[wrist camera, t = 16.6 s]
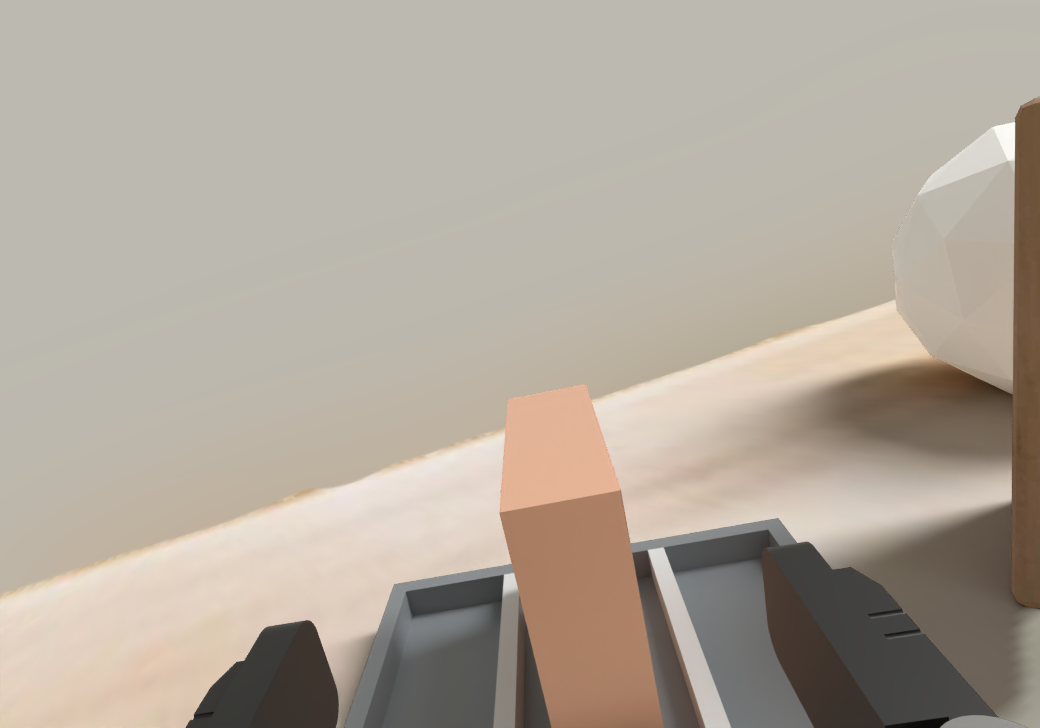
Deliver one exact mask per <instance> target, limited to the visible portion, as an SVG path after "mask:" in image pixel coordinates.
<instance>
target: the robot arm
mask: <svg viewBox="0 0 1040 728" xmlns="http://www.w3.org/2000/svg"><path fill="white" fill-rule="evenodd" d="M761 558H762V570H763V581H764V592H765V602H766V613H767V623H768V629H769V634H770V638H771V641H772V644H773V648H774V650H775V653H776V656H777V658H778V660H779V662H780V664H781V666H782V668H783V670H784V672H785V674H786V676H787V678H788V680H789V681H790V683H791V685H792V687H793V689H794V691H795V693H796V695H797V697H798V698H799V700H800V702H801V704H802V706H803V708H804V710H805V712H806V713H807V715H808V717H809V719H810V721H811V723H812V725H813V727H814V728H1027V727H1025V726H1023V725H1020V724H1017V723H1014V722H1012V721H1009V720H1005V719H1001V718H999V717H998V716H997V715H996V714H995V713H994V712H993V711H992V710H991V709H990V708H989V706H988V705H987V704H986V703H985V702H984V701H983V700H982V699H981V697H980V696H979V695H978V694H977V693H976V692H975V691H974V690H973V688H972V687H971V686H970V685H969V684H968V683H967V682H966V680H965V679H964V678H963V677H962V676H961V675H960V674H959V673H958V671H957V670H956V669H955V668H954V667H953V666H952V665H951V664H950V662H949V661H948V660H947V659H946V658H945V657H944V656H943V655H942V653H941V652H940V651H939V650H938V649H937V648H936V647H935V646H934V644H933V643H932V642H931V641H930V640H929V639H928V638H927V637H926V635H925V634H923V635H922V634H921V632H920V629H919V627H918V626H917V625H916V624H915V623H914V622H913V621H912V620H911V618H910V617H909V616H908V615H907V614H904V613H903V611H902V608H901V607H900V606H899V605H898V604H897V603H896V602H895V600H894V599H893V598H892V597H891V596H890V595H889V594H888V593H887V591H886V590H885V589H884V588H883V587H882V586H881V585H880V584H878V583H876V582H875V581H873V580H871V579H870V578H868V577H866V576H865V575H863V574H861V573H859V572H858V571H856V570H854V569H853V568H851V567H848V568H842V569H835V570H832V569H831V568H830V566H829V565H828V564H827V562H826V561H825V560H824V559H823V557H822V556H821V555H820V554H819V552H818V551H817V550H816V549H815V547H814V546H813V545H812V544H811V543H809V542H801V543H795V544H789V545H783V546H776V547H770V548H764V549H763V550H762V556H761ZM338 705H339V704H338V693H337V688H336V684H335V682H334V679H333V676H332V673H331V670H330V667H329V664H328V661H327V658H326V655H325V653H324V650H323V647H322V644H321V641H320V638H319V635H318V632H317V630H316V627H315V626H314V624H313V623H312V622H311V621H308V620H306V621H300V622H294V623H288V624H281V625H275V626H269V627H266V628H265V629H264V630H263V631H262V632H261V633H260V635H259V637H258V638H257V640H256V642H255V644H254V645H253V647H252V649H251V650H250V652H249V654H248V655H247V657H246V659H245V661H240V662H236V663H235V664H234V665H233V666H232V667H231V668H230V669H229V670H228V671H227V672H226V673H225V674H224V675H223V676H222V677H221V678H220V679H219V680H218V681H217V682H216V683H215V684H214V685H213V686H212V687H211V688H210V689H209V691H208V693H207V694H206V696H205V697H204V699H203V701H202V702H201V704H200V705H199V707H198V709H197V710H196V712H195V713H194V719H193V720H190V721H189V723H188V725H187V726H186V728H335V727H336V724H337V718H338Z"/></svg>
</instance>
